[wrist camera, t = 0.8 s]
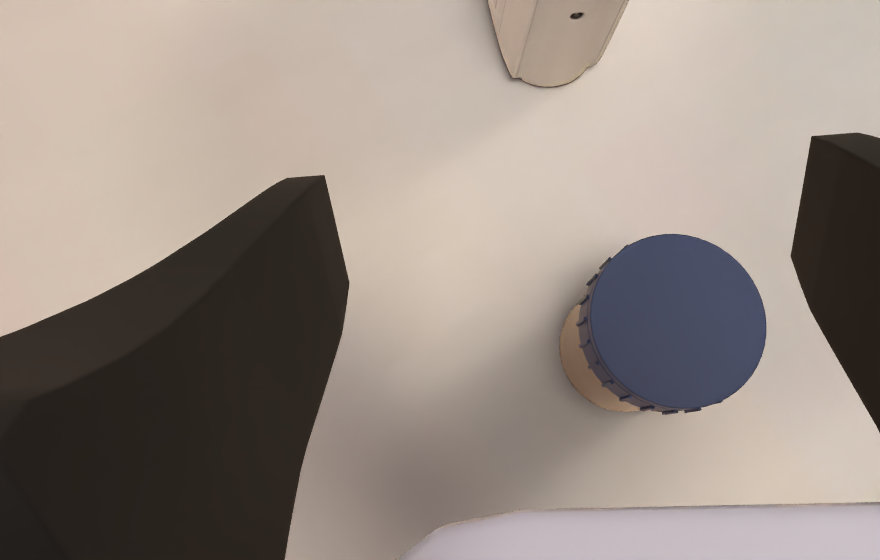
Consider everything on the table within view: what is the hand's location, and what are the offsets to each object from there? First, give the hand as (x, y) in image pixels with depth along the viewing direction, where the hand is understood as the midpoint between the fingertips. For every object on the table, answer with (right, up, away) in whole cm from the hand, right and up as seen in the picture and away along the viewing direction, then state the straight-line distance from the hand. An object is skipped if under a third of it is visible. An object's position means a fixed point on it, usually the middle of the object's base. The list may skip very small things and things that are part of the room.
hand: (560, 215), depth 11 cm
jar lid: (+5, -2, +10) cm, 12 cm away
